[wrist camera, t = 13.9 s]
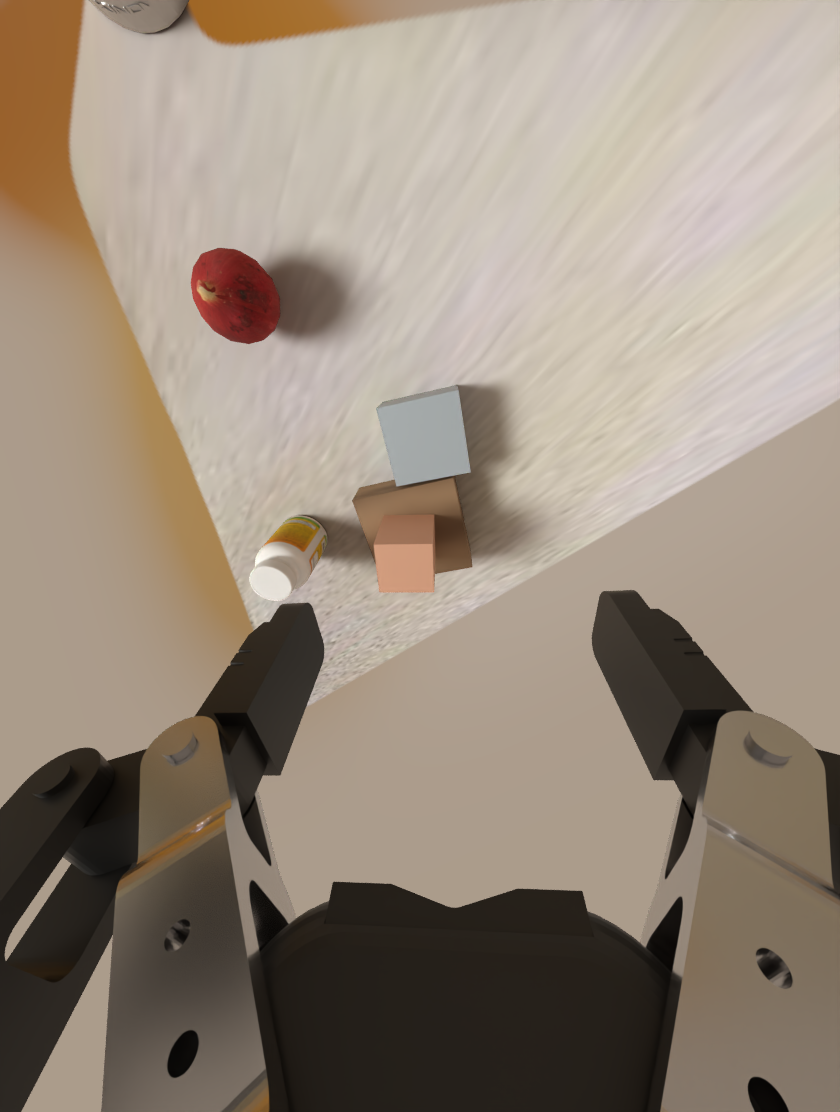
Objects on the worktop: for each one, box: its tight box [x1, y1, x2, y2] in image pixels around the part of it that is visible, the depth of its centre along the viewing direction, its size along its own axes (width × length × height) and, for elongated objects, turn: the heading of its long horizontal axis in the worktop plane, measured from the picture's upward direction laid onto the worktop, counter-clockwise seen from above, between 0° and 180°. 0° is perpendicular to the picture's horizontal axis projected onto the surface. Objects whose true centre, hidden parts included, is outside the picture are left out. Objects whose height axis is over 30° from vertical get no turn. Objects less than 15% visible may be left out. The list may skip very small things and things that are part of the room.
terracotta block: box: [374, 514, 435, 592], centre depth 34 cm, size 5×5×6 cm
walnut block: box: [352, 475, 472, 574], centre depth 38 cm, size 10×10×4 cm
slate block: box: [376, 385, 471, 486], centre depth 33 cm, size 7×7×4 cm
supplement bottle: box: [249, 515, 327, 601], centre depth 37 cm, size 5×5×10 cm
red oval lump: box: [191, 248, 280, 344], centre depth 27 cm, size 6×6×8 cm
